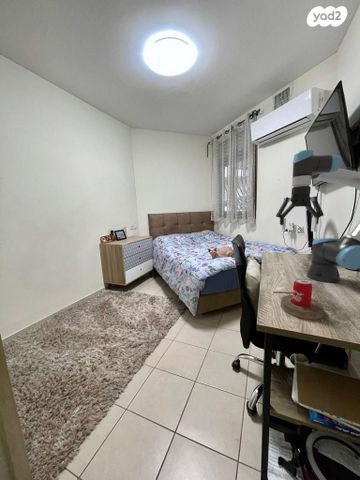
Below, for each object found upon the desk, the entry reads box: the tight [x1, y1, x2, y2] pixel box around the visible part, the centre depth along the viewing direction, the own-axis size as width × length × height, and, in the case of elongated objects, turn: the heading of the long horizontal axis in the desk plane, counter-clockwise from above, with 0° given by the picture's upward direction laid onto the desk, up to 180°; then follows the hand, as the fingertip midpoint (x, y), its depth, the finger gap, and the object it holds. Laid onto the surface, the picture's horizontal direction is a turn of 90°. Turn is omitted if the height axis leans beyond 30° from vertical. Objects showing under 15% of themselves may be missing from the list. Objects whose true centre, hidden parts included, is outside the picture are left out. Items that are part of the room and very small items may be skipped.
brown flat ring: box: [280, 294, 325, 320], centre depth 76 cm, size 14×14×3 cm
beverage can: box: [292, 278, 313, 308], centre depth 75 cm, size 6×6×12 cm
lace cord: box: [272, 289, 293, 294], centre depth 92 cm, size 12×1×1 cm, turn 83°
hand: (298, 231), depth 92 cm, fingers open, 13 cm apart
